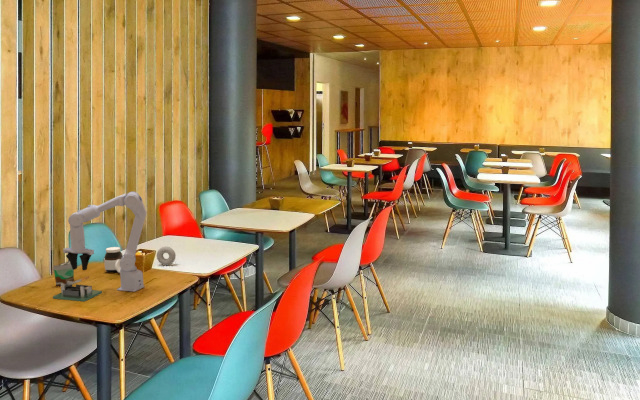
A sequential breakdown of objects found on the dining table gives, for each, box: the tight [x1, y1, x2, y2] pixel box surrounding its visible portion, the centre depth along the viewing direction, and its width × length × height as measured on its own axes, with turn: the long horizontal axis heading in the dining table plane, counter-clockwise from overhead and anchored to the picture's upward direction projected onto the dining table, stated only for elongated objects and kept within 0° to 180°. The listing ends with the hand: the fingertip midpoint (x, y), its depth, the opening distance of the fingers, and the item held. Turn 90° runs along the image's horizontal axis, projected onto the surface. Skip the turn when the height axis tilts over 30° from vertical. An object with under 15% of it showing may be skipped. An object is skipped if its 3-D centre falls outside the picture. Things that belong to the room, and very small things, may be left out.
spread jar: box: [103, 246, 124, 274], centre depth 300 cm, size 12×11×12 cm
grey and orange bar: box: [66, 276, 90, 286], centre depth 261 cm, size 12×2×1 cm, turn 72°
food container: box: [52, 259, 75, 287], centre depth 280 cm, size 12×6×10 cm, turn 168°
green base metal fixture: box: [52, 281, 103, 302], centre depth 262 cm, size 16×12×6 cm
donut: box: [156, 246, 176, 266], centre depth 311 cm, size 10×4×10 cm, turn 86°
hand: (79, 269), depth 266 cm, fingers open, 5 cm apart
